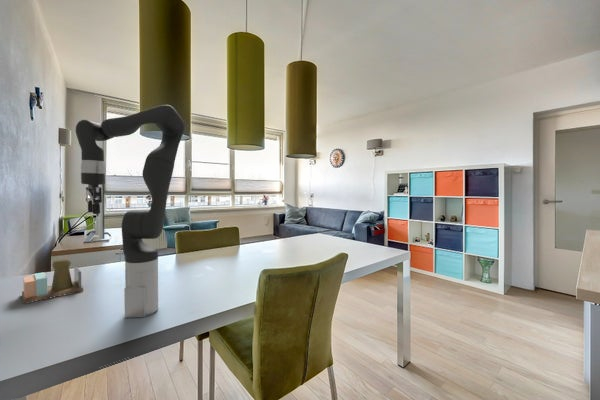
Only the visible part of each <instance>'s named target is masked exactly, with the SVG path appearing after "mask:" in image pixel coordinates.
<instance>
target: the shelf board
mask: <svg viewBox="0 0 600 400" xmlns="http://www.w3.org/2000/svg"><path fill="white" fill-rule="evenodd" d="M72 285H73V286H72V287H71V288H68V289H64V290H58V291H53V290H51V289H52V285H47V294H45V295H40V296H34V297H29V298H25V296H24V290H21V296H22V297H21V298H22V301H23V302H24V303H27V302H31V303H33V302H32V301H36V300H40V301H42V300H41V299H45V298H49V299H51V298H50V297H54V296H59V295H63V296H65V295H64V294H68V295H70V294H69V293H72V294H75V293H74V292H77V293H80V292H79V291H82V292H84V286H83V285H82V284H81V287H78V286H77V284H76V283H75V281H74V280H73V281H72ZM59 297H60V296H59ZM54 298H55V297H54ZM45 300H46V299H45ZM23 302H22V303H23ZM36 302H37V301H36ZM24 303H23V304H24ZM27 304H28V303H27Z"/></svg>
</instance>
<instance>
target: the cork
mask: <svg viewBox="0 0 600 400" xmlns="http://www.w3.org/2000/svg"><path fill="white" fill-rule="evenodd" d="M71 264H72V262H71V259H69V258H60V259H56V260H54V261H53V262H52V268H53V269H54V270H53V277H52V282H51V283H52V285H51V286H52V289H51V290H53V291H58V290H64V289H68V288H71V287H72V286H73V285H72V282H73V281H72V277H71V272H70V266H71Z"/></svg>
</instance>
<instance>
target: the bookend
mask: <svg viewBox="0 0 600 400" xmlns="http://www.w3.org/2000/svg"><path fill="white" fill-rule="evenodd" d="M73 268H74V269H73V272H74V273H73V274H74V279H73V281H75V283H76V284H77V286H78V287H81V285H82V271H81V270H80V269H79V268H78V267H77V266H75V267H73Z"/></svg>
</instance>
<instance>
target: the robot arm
mask: <svg viewBox="0 0 600 400" xmlns="http://www.w3.org/2000/svg"><path fill="white" fill-rule="evenodd" d="M147 124H148V125H149V124H154V125H156V127H158V129H159V130H160V131H161V133H162V135H161V136H162V137H161V140H160V141H161V142H160V144H159V145H158V146H157V147H155V148H154V149H153V150H152V151H151V152H150V153H149V154H147V156H146V158H145V161H144V164H143V168H142V178H143V181H144V184H145V185H146V187H147V189H148V191H149V193H150V197H151V203H150V204H151V206H150V209H149V210H146V209H145V210H144V209H143V210H139V209H138V210H137V209H136V210H135V209H134V210H133V209H132V210H131V209H130V210H129V211H126V212H125V214H124V215H123V217H122V219H121V237H122V238H121V239H122V240H121V241H122V253H123V255H124V267H125V268H124V269H125V270H124V271H125V272H124V274H125V277H124V278H125V287H124V289H123V292H124V297H123V298H124V299H123V300H124V318H127V319H128V318H146V317H147V316H149V315H152V314H154V313H156V312H157V311H158V310H159V251H158V249H157V248H155V247H153V246H150V245H148V244H146V243H145V242H144V241H143V240H152V239H153V240H154V239H158V238H159V237H160V236H161V234H162V233H163V229H164V224H165V218H166V211H167V210H166V208H167V201H168V193H169V191H170V190H169V189H170V185H171V181H172V177H173V174H174V169H175V163H176V162H175V161H176V158H177V154H178V151H179V150H178V148H179V145H180V143H181V140H182V137H183V134H184V132H185V122H184V119H183V118H182V117H181V115H180V114H179V113H178V111H177V110H176V109H175V107H173V106H172V105H170V104H161V105H157V106H154V107H151V108H148V109H143V110H142V111H139V112H135V113H133V114H129V115H126V116H119V117H113V118H107V119H104V120H103V121H102V122H101V123H100V122H94V121H92V120H89V119H82V120H79V121H78V122H77V123H76V126H75V135H76V138H77V141H78V144H79V147H80V150H81V164H80V183H81V184H82V185H87V187H85V202H86V203H87V212H88V213H92V215H99V214H101V204H102V202H103V198H102V194H103V193H102V189H103V188H102V187H101V186H99V185H105V184H106V167H105V151H104V149H103V148H102V147H101V146H99V145H98V144H97V142H105V141H108V140H110V139H114V138H119V137H126V136H130V135H133V134H134V133H136V132H137V131H138V130H139V129H140V128H141V127H142V126H144V125H147Z"/></svg>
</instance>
